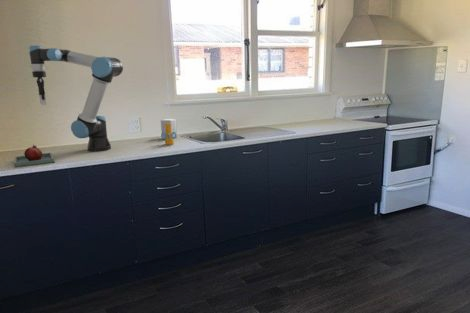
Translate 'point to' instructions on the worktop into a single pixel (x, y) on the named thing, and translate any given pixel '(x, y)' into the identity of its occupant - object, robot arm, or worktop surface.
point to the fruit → (33, 153)
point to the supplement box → (173, 126)
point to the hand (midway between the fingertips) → (43, 104)
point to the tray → (23, 161)
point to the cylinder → (168, 135)
